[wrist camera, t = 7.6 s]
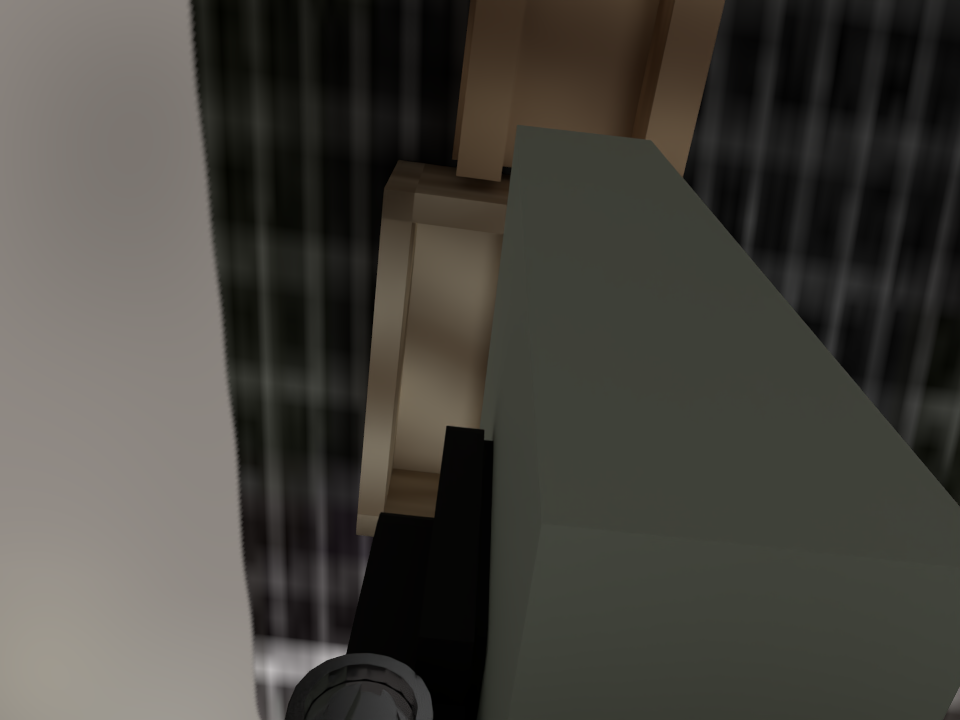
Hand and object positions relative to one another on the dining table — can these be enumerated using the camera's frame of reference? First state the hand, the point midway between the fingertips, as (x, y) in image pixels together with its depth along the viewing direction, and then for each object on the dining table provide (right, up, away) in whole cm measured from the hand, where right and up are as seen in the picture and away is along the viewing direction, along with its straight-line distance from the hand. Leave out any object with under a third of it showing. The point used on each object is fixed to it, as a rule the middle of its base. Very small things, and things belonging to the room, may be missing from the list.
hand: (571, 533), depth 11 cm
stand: (+2, +14, +17) cm, 22 cm away
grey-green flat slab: (0, +3, +6) cm, 6 cm away
